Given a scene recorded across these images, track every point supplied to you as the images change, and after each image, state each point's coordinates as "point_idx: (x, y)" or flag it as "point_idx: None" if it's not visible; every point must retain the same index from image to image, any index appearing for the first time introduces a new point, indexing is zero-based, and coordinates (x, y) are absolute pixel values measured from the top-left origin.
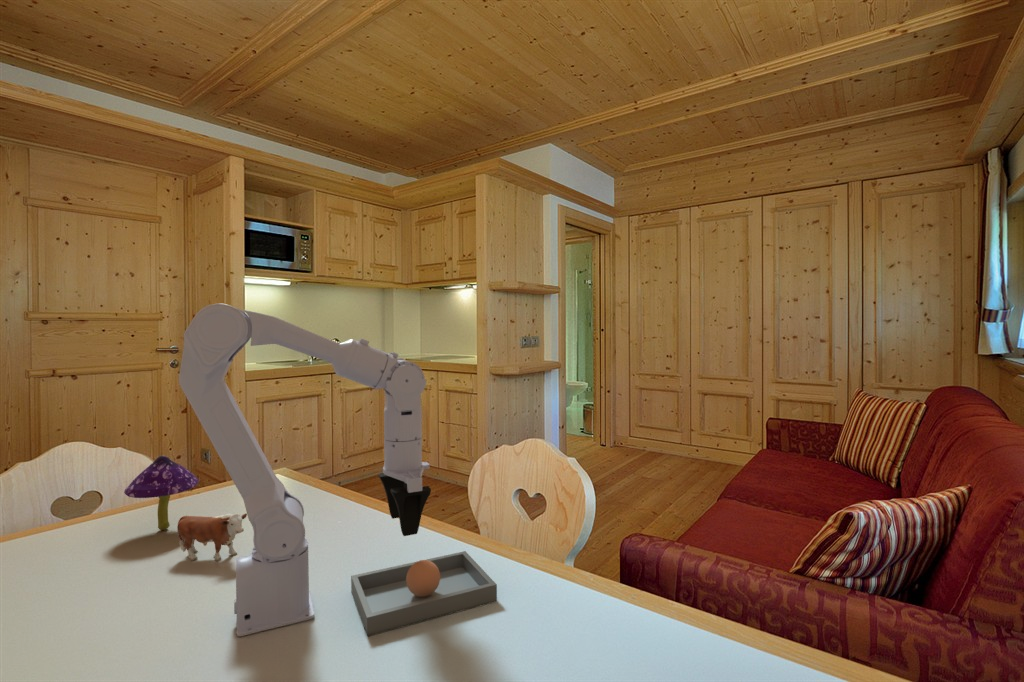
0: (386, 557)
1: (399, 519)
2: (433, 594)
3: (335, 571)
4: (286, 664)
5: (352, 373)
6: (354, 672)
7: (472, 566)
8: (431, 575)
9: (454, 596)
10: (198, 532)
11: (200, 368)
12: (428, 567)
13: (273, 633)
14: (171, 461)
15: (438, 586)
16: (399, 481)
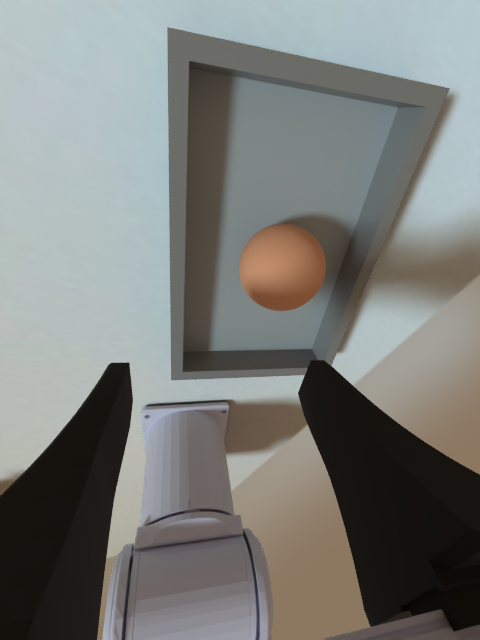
0: (6, 266)
1: (318, 448)
2: None
3: (63, 370)
4: (300, 418)
5: None
6: (366, 371)
7: (291, 81)
8: (325, 269)
9: (388, 229)
10: None
11: None
12: (317, 279)
13: (231, 430)
14: None
15: (259, 206)
16: (82, 584)
